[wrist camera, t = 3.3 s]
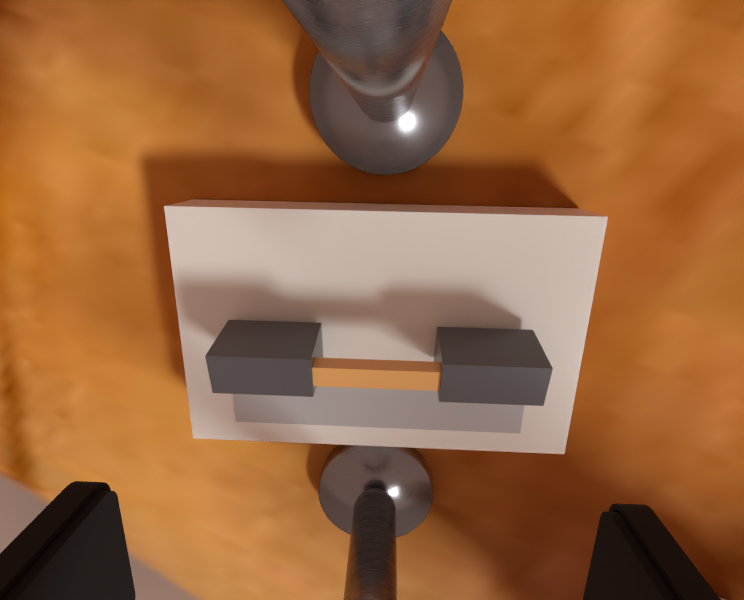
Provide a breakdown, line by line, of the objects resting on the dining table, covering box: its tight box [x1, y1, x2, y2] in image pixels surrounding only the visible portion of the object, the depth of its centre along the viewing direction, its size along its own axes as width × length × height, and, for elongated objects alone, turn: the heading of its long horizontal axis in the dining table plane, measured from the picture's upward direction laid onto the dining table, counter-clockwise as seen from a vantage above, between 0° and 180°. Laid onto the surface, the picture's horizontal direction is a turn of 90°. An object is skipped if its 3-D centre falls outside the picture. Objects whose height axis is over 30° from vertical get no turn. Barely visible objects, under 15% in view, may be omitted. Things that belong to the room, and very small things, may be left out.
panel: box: [164, 199, 608, 454], centre depth 19 cm, size 10×16×3 cm, turn 89°
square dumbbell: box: [205, 320, 553, 406], centre depth 16 cm, size 2×12×2 cm, turn 89°
